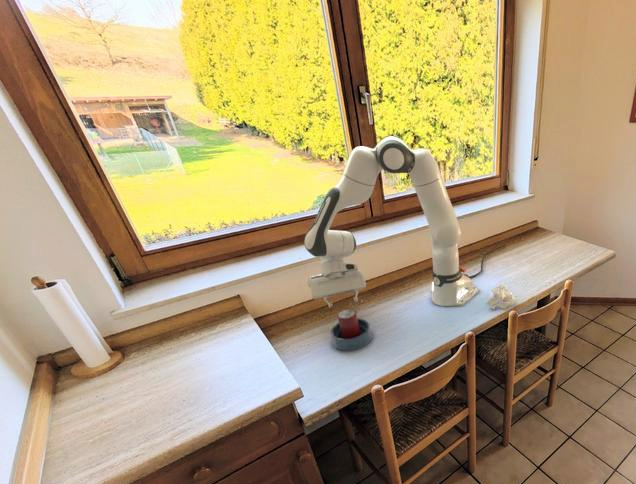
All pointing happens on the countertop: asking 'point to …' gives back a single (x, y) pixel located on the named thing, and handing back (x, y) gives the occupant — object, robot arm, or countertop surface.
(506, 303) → the white irregular lump
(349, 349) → the bowl
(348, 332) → the can
